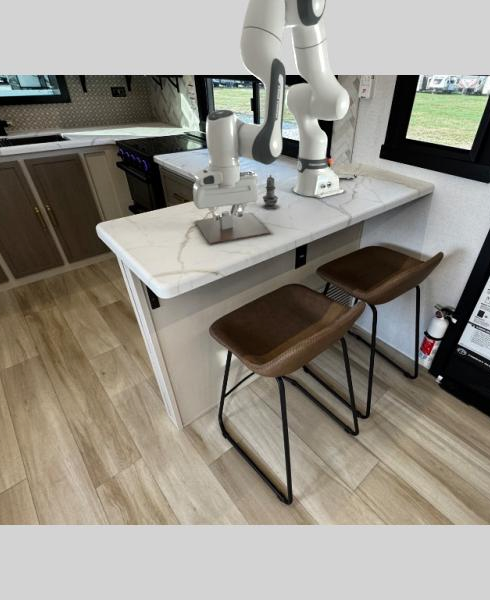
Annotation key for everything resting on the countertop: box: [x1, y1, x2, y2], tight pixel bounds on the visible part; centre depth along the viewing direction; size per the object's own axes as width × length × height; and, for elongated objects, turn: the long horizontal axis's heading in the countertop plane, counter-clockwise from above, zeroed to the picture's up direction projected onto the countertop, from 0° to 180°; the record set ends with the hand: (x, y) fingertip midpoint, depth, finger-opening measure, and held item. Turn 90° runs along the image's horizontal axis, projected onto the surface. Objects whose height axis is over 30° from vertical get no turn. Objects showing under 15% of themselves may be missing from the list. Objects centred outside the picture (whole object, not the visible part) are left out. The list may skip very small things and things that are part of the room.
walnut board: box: [194, 212, 271, 246], centre depth 105 cm, size 20×18×1 cm
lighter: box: [218, 204, 241, 230], centre depth 102 cm, size 7×2×8 cm, turn 127°
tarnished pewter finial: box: [262, 174, 279, 210], centre depth 118 cm, size 6×6×12 cm
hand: (228, 217), depth 103 cm, fingers open, 7 cm apart
